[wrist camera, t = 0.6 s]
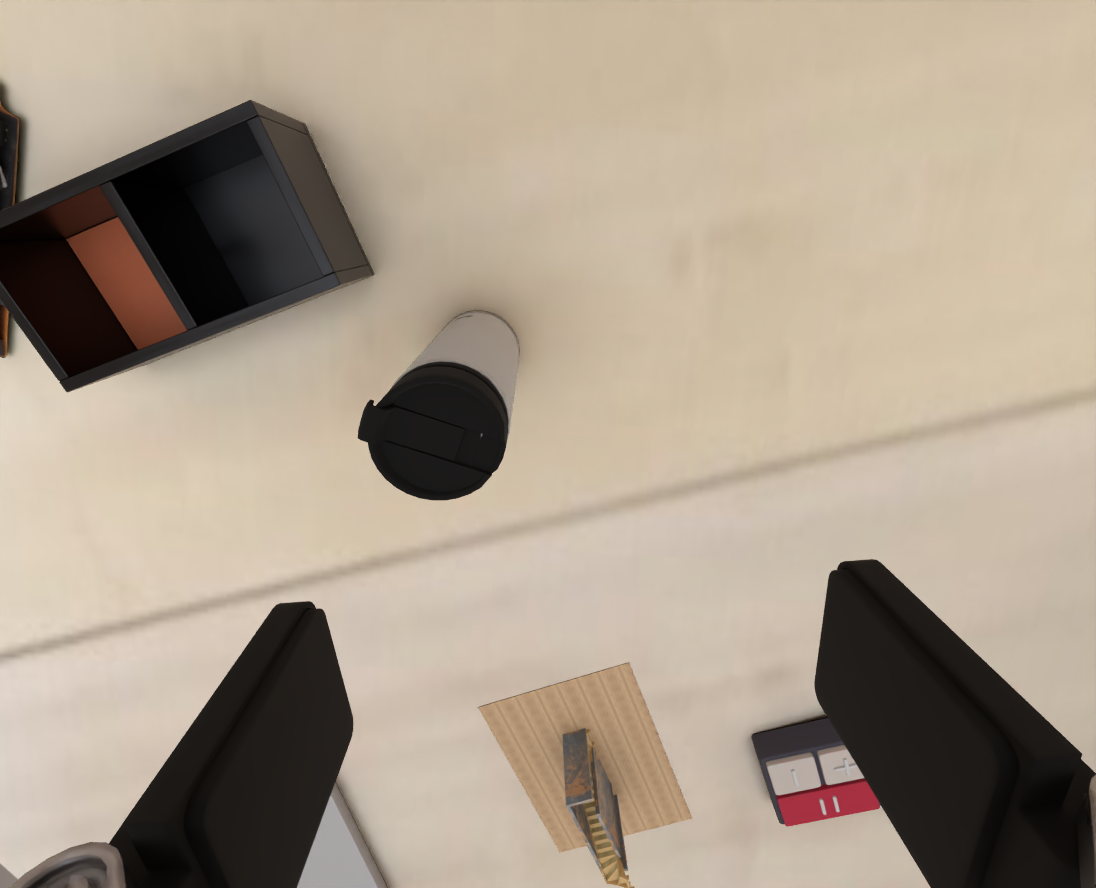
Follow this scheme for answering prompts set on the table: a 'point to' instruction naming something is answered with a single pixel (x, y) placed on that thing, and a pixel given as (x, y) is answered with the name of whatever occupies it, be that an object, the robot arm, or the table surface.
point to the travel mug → (447, 411)
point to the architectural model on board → (590, 763)
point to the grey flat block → (339, 852)
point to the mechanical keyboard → (7, 191)
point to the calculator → (811, 774)
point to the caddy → (176, 245)
